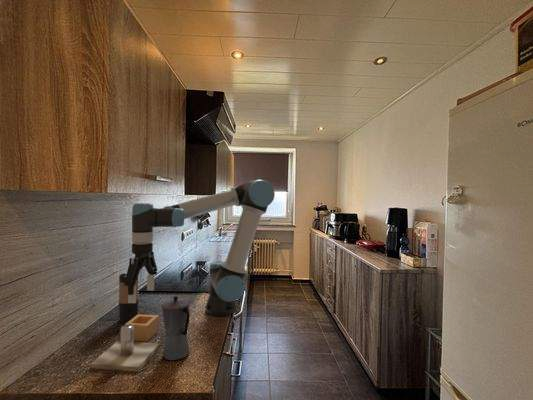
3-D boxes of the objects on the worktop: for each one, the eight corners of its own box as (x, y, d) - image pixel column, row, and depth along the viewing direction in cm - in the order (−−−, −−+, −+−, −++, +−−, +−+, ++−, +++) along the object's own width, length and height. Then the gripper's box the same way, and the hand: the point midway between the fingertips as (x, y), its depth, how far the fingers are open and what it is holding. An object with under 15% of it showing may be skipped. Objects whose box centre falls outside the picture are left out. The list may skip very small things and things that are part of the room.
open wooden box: (137, 328, 116) (137, 314, 116) (158, 330, 115) (158, 315, 115) (124, 340, 107) (124, 324, 107) (147, 341, 106) (147, 325, 106)
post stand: (117, 344, 104) (117, 316, 104) (159, 347, 102) (159, 319, 102) (90, 368, 90) (90, 335, 90) (138, 371, 88) (138, 338, 88)
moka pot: (176, 341, 107) (177, 289, 106) (202, 356, 97) (202, 299, 97) (153, 352, 99) (153, 295, 99) (178, 369, 90) (178, 307, 89)
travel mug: (130, 324, 120) (130, 277, 120) (114, 322, 122) (114, 276, 121) (141, 316, 127) (142, 272, 127) (127, 315, 129) (127, 271, 129)
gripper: (149, 237, 123) (148, 285, 124) (113, 248, 98) (112, 308, 99) (165, 237, 123) (165, 286, 123) (133, 249, 98) (133, 309, 98)
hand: (141, 296), depth 111 cm, fingers open, 13 cm apart
